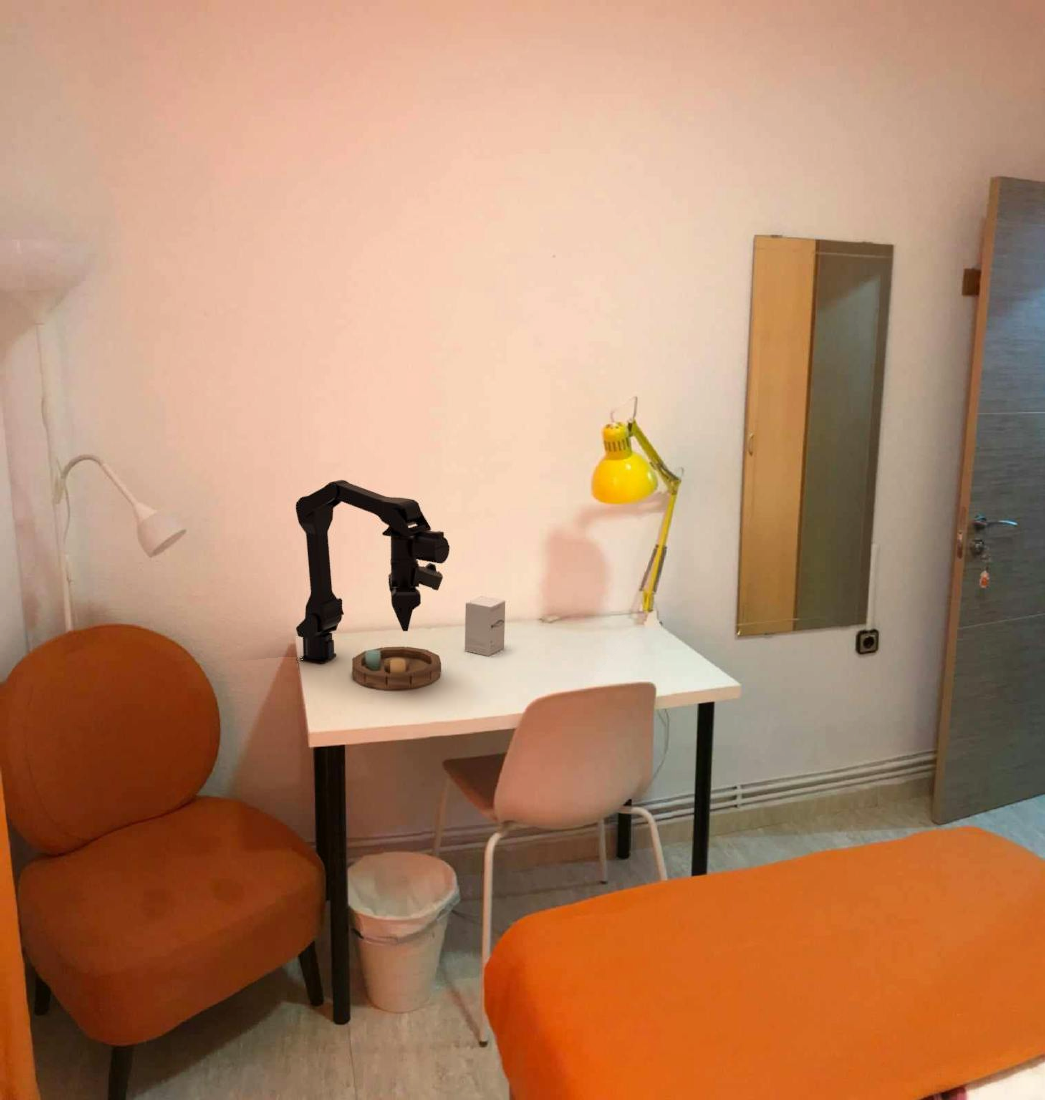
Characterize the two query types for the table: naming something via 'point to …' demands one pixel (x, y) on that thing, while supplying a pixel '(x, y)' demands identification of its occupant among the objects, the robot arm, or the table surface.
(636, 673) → the table surface
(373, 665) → the bead
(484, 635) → the supplement box
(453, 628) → the table surface
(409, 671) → the groove tray
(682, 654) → the table surface
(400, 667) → the bead
